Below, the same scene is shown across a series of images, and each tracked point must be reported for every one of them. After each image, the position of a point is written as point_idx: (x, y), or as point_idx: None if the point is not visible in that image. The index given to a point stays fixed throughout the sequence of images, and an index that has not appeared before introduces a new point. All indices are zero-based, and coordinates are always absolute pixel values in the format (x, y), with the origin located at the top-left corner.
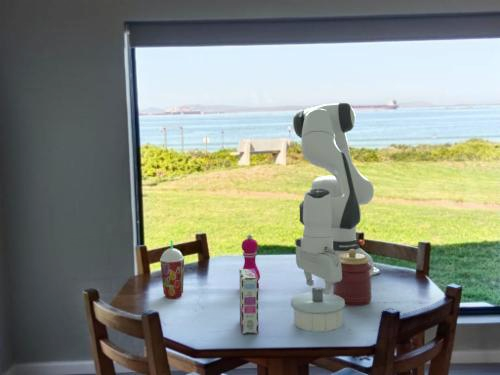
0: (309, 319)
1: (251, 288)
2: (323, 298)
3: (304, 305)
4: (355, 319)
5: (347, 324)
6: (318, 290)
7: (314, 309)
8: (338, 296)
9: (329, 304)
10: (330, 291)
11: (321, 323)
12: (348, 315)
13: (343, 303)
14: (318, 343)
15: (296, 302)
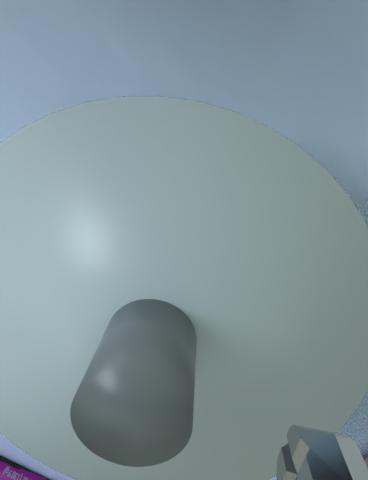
0: None
1: None
2: (140, 267)
3: (172, 463)
4: (296, 39)
5: (312, 156)
6: (177, 446)
7: None
8: (188, 111)
9: (285, 336)
10: (361, 462)
11: None
12: (210, 17)
13: (364, 233)
14: (356, 427)
15: (90, 459)
